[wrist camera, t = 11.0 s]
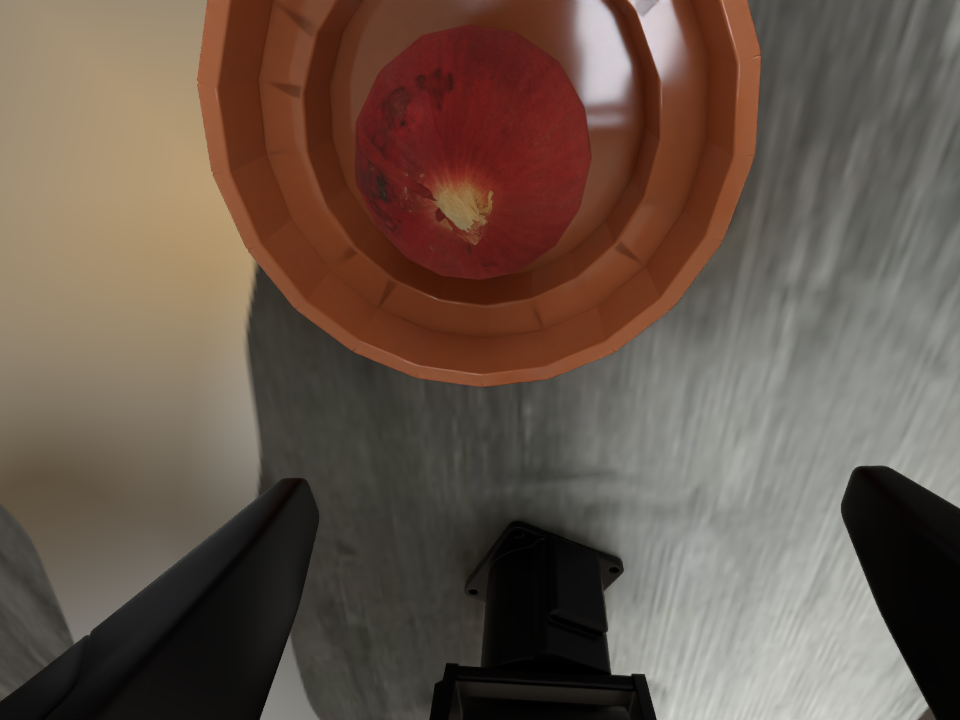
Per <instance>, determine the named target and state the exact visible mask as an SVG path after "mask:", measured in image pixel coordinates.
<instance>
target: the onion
mask: <svg viewBox="0 0 960 720" xmlns="http://www.w3.org/2000/svg"><path fill="white" fill-rule="evenodd" d="M591 159H592V156H591V148H590V141H589V133H588V126H587V118H586V111H585V107H584V105H583V103H582V101H581V99H580V98H579V96H578V94H577V92H576V91H575V89H574V87H573V85H572V84H571V82H570V80H569V78H568V77H567V75H566V73H565V71H564V69H563V68H562V66H561V64H560V62H559V61H558V60H556V59H555V58H553V57H552V56H550V55H549V54H547V53H546V52H545V51H543V50H542V49H540V48H539V47H537V46H536V45H534V44H533V43H531V42H530V41H528V40H527V39H526V38H524V37H523V36H521V35H520V34H518V33H517V32H512V31H506V30H500V29H494V28H487V27H481V26H475V25H464V26H460V27H455V28H451V29H447V30H442V31H438V32H433V33H429V34H425V35H422V36H420V37H419V38H418V39H417V40H416V41H414V42H413V43H412V44H411V45H410V46H408V47H407V48H406V49H405V50H404V51H402V52H401V53H400V54H399V55H398V56H396V57H395V58H394V59H393V60H392V61H390V62H389V63H388V64H387V65H386V66H384V67H383V68H382V69H381V71H380V72H379V73H378V75H377V77H376V79H375V81H374V83H373V85H372V88H371V90H370V92H369V94H368V96H367V99H366V101H365V103H364V105H363V107H362V109H361V112H360V114H359V116H358V118H357V120H356V122H355V181H356V185H357V187H358V189H359V191H360V193H361V195H362V197H363V199H364V201H365V204H366V206H367V208H368V210H369V212H370V214H371V216H372V218H373V220H374V222H375V224H376V226H377V228H378V229H379V230H380V231H381V232H382V233H383V234H384V235H385V236H386V237H387V238H388V239H389V240H390V241H391V242H392V243H393V244H394V245H395V246H396V247H397V249H398V250H399V251H400V252H401V253H402V254H403V255H404V256H405V257H406V258H408V259H409V260H411V261H413V262H415V263H417V264H419V265H421V266H423V267H425V268H427V269H429V270H431V271H433V272H435V273H437V274H439V275H441V276H448V277H458V278H467V279H477V280H481V279H486V278H491V277H497V276H502V275H507V274H512V273H517V272H519V271H521V270H522V269H524V268H525V267H527V266H528V265H529V264H531V263H532V262H534V261H535V260H536V259H538V258H539V257H541V256H542V255H543V254H545V253H546V252H548V251H549V250H550V249H552V248H553V247H555V246H556V244H557V243H558V241H559V240H560V238H561V237H562V235H563V234H564V232H565V231H566V229H567V228H568V226H569V224H570V223H571V221H572V220H573V218H574V217H575V215H576V214H577V212H578V211H579V209H580V205H581V202H582V198H583V194H584V189H585V185H586V181H587V176H588V172H589V168H590V163H591Z"/></svg>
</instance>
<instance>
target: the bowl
mask: <svg viewBox="0 0 960 720" xmlns="http://www.w3.org/2000/svg"><path fill="white" fill-rule="evenodd" d="M464 25H475V26H481V27H487V28H494V29H500V30H506V31H512V32H517V33H518V34H520V35H521V36H523V37H524V38H526V39H527V40H528V41H530V42H531V43H533V44H534V45H536V46H537V47H539V48H540V49H542V50H543V51H545V52H546V53H547V54H549V55H550V56H552V57H553V58H555V59H556V60H558V61H559V62H560V64H561V66H562V68H563V69H564V71H565V73H566V75H567V77H568V78H569V80H570V82H571V84H572V85H573V87H574V89H575V91H576V92H577V94H578V96H579V98H580V99H581V101H582V103H583V105H584V107H585V111H586V118H587V126H588V133H589V141H590V148H591V156H592V159H591V163H590V168H589V172H588V176H587V181H586V185H585V189H584V194H583V198H582V202H581V205H580V209H579V211H578V212H577V214H576V215H575V217H574V218H573V220H572V221H571V223H570V224H569V226H568V228H567V229H566V231H565V232H564V234H563V235H562V237H561V238H560V240H559V241H558V243H557V244H556V246H555V247H553V248H552V249H550V250H549V251H548V252H546V253H545V254H543V255H542V256H541V257H539V258H538V259H536V260H535V261H534V262H532V263H531V264H529V265H528V266H527V267H525V268H524V269H522V270H521V271H519V272H517V273H512V274H507V275H502V276H497V277H491V278H486V279H481V280H477V279H467V278H458V277H448V276H441V275H439V274H437V273H435V272H433V271H431V270H429V269H427V268H425V267H423V266H421V265H419V264H417V263H415V262H413V261H411V260H409V259H408V258H406V257H405V256H404V255H403V254H402V253H401V252H400V251H399V250H398V249H397V247H396V246H395V245H394V244H393V243H392V242H391V241H390V240H389V239H388V238H387V237H386V236H385V235H384V234H383V233H382V232H381V231H380V230H379V229H378V228H377V226H376V224H375V222H374V220H373V218H372V216H371V214H370V212H369V210H368V208H367V206H366V204H365V201H364V199H363V197H362V195H361V193H360V191H359V189H358V187H357V185H356V181H355V122H356V120H357V118H358V116H359V114H360V112H361V109H362V107H363V105H364V103H365V101H366V99H367V96H368V94H369V92H370V90H371V88H372V85H373V83H374V81H375V79H376V77H377V75H378V73H379V72H380V71H381V69H382V68H383V67H384V66H386V65H387V64H388V63H389V62H390V61H392V60H393V59H394V58H395V57H396V56H398V55H399V54H400V53H401V52H402V51H404V50H405V49H406V48H407V47H408V46H410V45H411V44H412V43H413V42H414V41H416V40H417V39H418V38H419V37H420V36H422V35H425V34H429V33H433V32H438V31H442V30H447V29H451V28H455V27H460V26H464ZM760 53H761V50H760V47H759V43H758V39H757V35H756V31H755V28H754V24H753V20H752V16H751V12H750V9H749V5H748V1H747V0H207V7H206V15H205V23H204V31H203V39H202V47H201V54H200V62H199V70H198V78H197V81H198V82H199V83H198V92H199V97H200V104H201V109H202V116H203V122H204V128H205V134H206V140H207V147H208V153H209V159H210V165H211V170H212V172H213V177H214V179H215V181H216V183H217V185H218V188H219V190H220V192H221V194H222V196H223V198H224V201H225V203H226V205H227V207H228V210H229V211H230V214H231V216H232V218H233V220H234V222H235V225H236V227H237V229H238V231H239V233H240V236H241V238H242V240H243V242H244V244H245V247H246V248H247V249H248V251H249V253H250V254H251V255H252V257H253V258H254V259H255V260H256V261H257V263H258V264H259V265H260V266H261V268H262V269H263V270H264V271H265V272H266V274H267V275H268V276H269V277H270V279H271V280H272V281H273V282H274V284H275V285H276V286H277V287H278V288H279V290H280V291H281V292H282V293H283V295H284V296H285V297H286V298H287V300H288V301H289V302H290V303H291V304H292V306H293V307H294V308H297V311H298V312H300V313H301V314H302V315H304V316H305V317H306V318H308V319H309V320H311V321H312V322H313V323H315V324H316V325H317V326H319V327H320V328H321V329H323V330H324V331H325V332H327V333H328V334H329V335H331V336H332V337H333V338H335V339H336V340H337V341H339V342H340V343H342V344H343V345H344V346H346V347H347V348H348V349H350V350H351V351H354V352H355V353H356V354H359V355H361V356H364V357H366V358H369V359H371V360H374V361H376V362H378V363H381V364H383V365H386V366H388V367H391V368H393V369H396V370H398V371H400V372H403V373H405V374H408V375H410V376H413V377H417V378H419V379H426V380H433V381H441V382H448V383H455V384H463V385H470V386H477V387H482V386H483V387H489V386H497V385H505V384H513V383H521V382H530V381H538V380H546V379H549V378H553V377H556V376H558V375H560V374H563V373H565V372H568V371H570V370H573V369H575V368H578V367H580V366H583V365H585V364H588V363H590V362H593V361H595V360H598V359H600V358H602V357H605V356H607V355H610V354H612V353H613V352H616V351H617V350H619V349H620V348H621V347H623V346H624V345H625V344H627V343H628V342H629V341H630V340H632V339H633V338H634V337H636V336H637V335H638V334H640V333H641V332H642V331H644V330H645V329H646V328H647V327H649V326H650V325H651V324H653V323H654V322H655V321H657V320H658V319H659V318H661V317H662V316H663V315H664V314H666V313H667V312H668V311H670V310H671V309H672V308H673V306H675V305H676V304H677V302H678V301H679V300H680V298H681V297H682V296H683V294H684V293H685V292H686V290H687V289H688V288H689V286H690V285H691V284H692V282H693V281H694V280H695V278H696V277H697V276H698V274H699V273H700V271H701V270H702V269H703V267H704V266H705V265H706V263H707V262H708V261H709V259H710V258H711V257H712V255H713V254H714V253H715V251H716V250H717V249H718V247H719V246H720V245H721V243H722V240H724V237H725V234H726V232H727V229H728V227H729V224H730V221H731V219H732V216H733V213H734V211H735V208H736V205H737V203H738V200H739V197H740V195H741V192H742V189H743V187H744V184H745V181H746V179H747V176H748V173H749V171H750V168H751V165H752V163H753V160H754V156H753V155H755V150H756V134H757V118H758V102H759V86H760V70H761V55H760Z"/></svg>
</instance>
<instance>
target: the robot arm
mask: <svg viewBox="0 0 960 720" xmlns="http://www.w3.org/2000/svg"><path fill="white" fill-rule="evenodd" d="M841 513H842V518H843V520H844V523H845V526H846V528H847V531H848V533H849V536H850V538H851V541H852V543H853V546H854V549H855V551H856V554H857V556H858V559H859V561H860V564H861V566H862V569H863V571H864V574H865V577H866V579H867V582H868V584H869V587H870V589H871V592H872V594H873V597H874V599H875V601H876V604H877V606H878V608H879V611H880V613H881V615H882V617H883V619H884V621H885V623H886V625H887V627H888V629H889V631H890V633H891V635H892V637H893V639H894V641H895V643H896V644H897V646H898V648H899V650H900V652H901V654H902V656H903V658H904V660H905V662H906V664H907V666H908V667H909V669H910V671H911V673H912V675H913V677H914V679H915V681H916V683H917V685H918V687H919V689H920V690H921V692H922V694H923V696H924V698H925V700H926V702H927V704H928V706H929V708H930V710H931V712H932V714H933V715H934V717H935V719H936V720H960V508H958V507H956V506H954V505H953V504H951V503H949V502H948V501H946V500H944V499H943V498H941V497H939V496H937V495H936V494H934V493H932V492H931V491H929V490H927V489H926V488H924V487H922V486H920V485H919V484H917V483H915V482H914V481H912V480H910V479H908V478H907V477H905V476H903V475H902V474H900V473H898V472H897V471H895V470H893V469H891V468H889V467H886V466H859V467H856V468H855V469H854V470H853V472H852V474H851V476H850V479H849V482H848V485H847V488H846V491H845V494H844V496H843V499H842V503H841ZM318 524H319V511H318V507H317V505H316V502H315V499H314V497H313V494H312V492H311V489H310V486H309V484H308V482H307V481H306V480H305V479H303V478H285V479H281V480H280V481H278V482H277V483H275V484H274V485H273V486H272V487H270V488H269V489H268V490H267V491H265V492H264V493H263V494H262V495H260V496H259V497H258V498H257V499H255V500H254V501H253V502H252V503H251V504H249V505H248V506H247V507H246V508H244V509H243V510H242V511H241V512H239V513H238V514H237V515H236V516H234V517H233V518H232V519H231V520H229V521H228V522H227V523H226V524H224V525H223V526H222V527H221V528H219V529H218V530H217V531H216V532H215V533H213V534H212V535H211V536H209V537H208V538H207V539H206V540H204V541H203V542H202V543H201V544H200V545H198V546H197V547H196V548H194V549H193V550H192V551H191V552H189V553H188V554H187V555H186V556H184V557H183V558H182V559H181V560H179V561H178V562H177V563H176V564H174V565H173V566H172V567H171V568H169V569H168V570H167V571H166V572H164V573H163V574H162V575H161V576H159V577H158V578H157V579H156V580H155V581H153V582H152V583H151V584H149V585H148V586H147V587H146V588H144V589H143V590H142V591H141V592H139V593H138V594H137V595H136V596H135V597H133V598H132V599H131V600H130V601H128V602H127V603H126V604H125V605H123V606H122V607H121V608H120V609H118V610H117V611H116V612H115V613H113V614H112V615H111V616H110V617H108V618H107V619H106V620H105V621H103V622H102V623H101V624H100V625H98V626H97V627H96V628H95V629H93V630H92V631H91V633H90V635H86V636H85V637H83V638H82V639H81V640H80V641H78V642H77V643H76V644H74V645H73V646H72V647H71V648H69V649H68V650H67V651H66V652H64V653H63V654H62V655H61V656H59V657H58V658H57V659H56V660H54V661H53V662H52V663H50V664H49V665H48V666H47V667H45V668H44V669H43V670H41V671H40V672H39V673H38V674H36V675H35V676H34V677H32V678H31V679H30V680H29V681H27V682H26V683H25V684H23V685H22V686H21V687H19V688H18V689H17V690H15V691H14V692H13V693H11V694H10V695H9V696H7V697H6V698H5V699H3V700H2V701H0V720H260V717H261V714H262V711H263V708H264V705H265V702H266V700H267V697H268V694H269V691H270V688H271V685H272V682H273V679H274V677H275V674H276V671H277V668H278V665H279V662H280V660H281V657H282V654H283V651H284V648H285V645H286V642H287V639H288V637H289V634H290V631H291V628H292V625H293V622H294V619H295V616H296V613H297V610H298V607H299V604H300V600H301V596H302V592H303V588H304V584H305V579H306V575H307V571H308V567H309V562H310V558H311V554H312V550H313V545H314V541H315V537H316V532H317V528H318ZM623 571H624V568H623V562H622V560H621V559H619V558H617V557H614V556H611V555H609V554H606V553H603V552H601V551H598V550H595V549H593V548H590V547H587V546H585V545H582V544H579V543H577V542H574V541H571V540H569V539H566V538H564V537H561V536H558V535H556V534H553V533H550V532H548V531H545V530H542V529H540V528H537V527H534V526H532V525H529V524H526V523H524V522H520V521H515V522H512V523H510V524H509V525H508V527H507V528H506V529H505V531H504V532H503V533H502V535H501V536H500V537H499V539H498V540H497V542H496V543H495V544H494V546H493V547H492V548H491V550H490V551H489V552H488V554H487V555H486V556H485V558H484V559H483V560H482V562H481V563H480V564H479V566H478V567H477V568H476V570H475V571H474V572H473V574H472V575H471V576H470V578H469V579H468V580H467V582H466V584H465V590H464V591H465V594H466V595H468V596H470V597H473V598H475V599H478V600H481V601H484V602H486V606H485V619H484V632H483V644H482V657H481V667H470V666H459V664H457V663H446V667H445V672H444V677H443V680H442V681H439V682H438V683H436V684H435V687H434V694H433V701H432V707H431V714H430V719H429V720H657V719H656V715H655V711H654V708H653V704H652V700H651V696H650V692H649V689H648V685H647V681H646V677H645V675H644V674H631V676H625V675H611V667H610V659H609V651H608V642H607V634H606V632H607V631H608V622H607V614H606V606H605V598H604V591H605V590H606V589H607V588H608V587H609V586H610V585H611V584H612V583H613V582H614V581H615V580H616V579H617V578H618V577H619V576H620V575H621V574H622V573H623Z"/></svg>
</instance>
